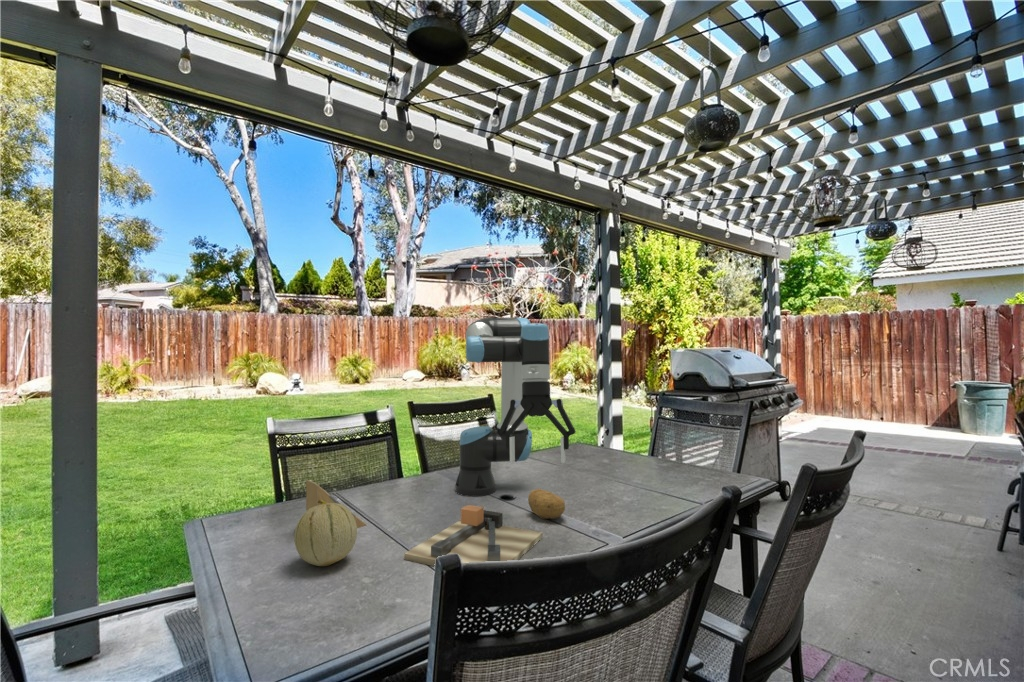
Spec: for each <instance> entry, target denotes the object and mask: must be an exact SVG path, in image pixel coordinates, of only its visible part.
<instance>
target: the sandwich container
mask: <svg viewBox="0 0 1024 682" xmlns="http://www.w3.org/2000/svg"><path fill="white" fill-rule="evenodd" d="M305 488H306V491H305V493H306V496H305V497H306V499H305V500H306V501H305V503H306V506H305V507H306V508H305V510H306V511H307V510H309V509H310V508H312V507H314V506H317V505H320V504H321V503H318V501H319V500H323V501H325V502H326V503H338V504H341V505H343V504H342V503H341V502H339V501H338V500H337V499H336V498H334V497H333V496H332V495H331V494H329V493H328V492H327V490H325V489H324V488H323V487H321V486H320V485H319V484H317V483H316V482H314V481H311V480H310V479H306V487H305ZM306 511H305V512H306ZM352 514H353V516H354V518H355V520H356V524H357V529H358V528H361V527H362V528H363V527H365V526H367V523H366V522H364V521H363V520H362V519H361V518H359V517H358V516H357V515H356V514H355V513H353V512H352Z"/></svg>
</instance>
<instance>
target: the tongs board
mask: <svg viewBox="0 0 1024 682" xmlns="http://www.w3.org/2000/svg"><path fill="white" fill-rule="evenodd" d="M485 517H492V521H495V545H500V561H507V560H518V561H519V560H520V559H521V558H522V557H523V556H524V555H525V554H524V553H525V552H527V551H528V550H529V549H530V548H531V547H532V546H533V545H534V544H535V543H536V542H538V541H539V540H540V539H541V538H542V537H543V535H544V534H543V532H542V531H535V530H530V529H525V528H518V527H513V526H509V525H508V526H507V525H504V524H503V517H504V513H503V512H498V511H492V510H491V511H490V510H485V509H484V522H482V523H481V524H479V525H478V526H473V525H467V524H461V519H460V520H459V521H456V522H455V523H453V524H452V525H450V526H447V527H446V528H445V529H443V530H441V531H440V532H438V533H436V534H435V535H433V536H431V537H429V538H427V539H426V540H424V541H423V542H421V543H420V544H418V545H416V546H414V547H413V548H411V549H409V550H408V551H406V552H404V556H403V557H404V559H403V560H404V561H406V560H407V561H409V562H414V563H419V564H421V565H422V564H423V565H428V566H432V567H435V566H434V564H435V559H436V558H437V557H438V556H442V555H447V554H452V553H457V554H459V555H460V557H461V559H462V562H463V563H469V562H485V561H488V545H489V530H486V529H485ZM542 539H543V538H542ZM542 539H541V540H542ZM541 540H540V541H541ZM540 541H539V542H540ZM539 542H538V543H539ZM536 544H537V543H536ZM536 544H535V545H536ZM535 545H534V546H535ZM534 546H533V547H534ZM533 547H532V548H533ZM532 548H531V549H532ZM531 549H530V550H531ZM530 550H529V551H530ZM529 551H528V552H529ZM528 552H527V553H528ZM523 554H524V555H523ZM522 555H523V556H522ZM521 556H522V557H521ZM520 557H521V558H520Z"/></svg>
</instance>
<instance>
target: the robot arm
mask: <svg viewBox="0 0 1024 682" xmlns="http://www.w3.org/2000/svg"><path fill="white" fill-rule="evenodd" d="M465 340H466V341H465V359H466V361H467V362H468V363H476V364H479V363H501V381H500V383H501V384H500V385H501V389H500V390H501V397H500V399H501V400H500V401H501V403H500V404H501V405H500V421H499V423H497V425H496V430H492V428H491V426H489V425H483V426H482V425H481V426H475V427H469V428H466V429H464V430H462V431H461V432H460V435H459V473H458V474H457V478H456V481H455V484H454V485H455V486H454V492H455V491H456V492H457V493H456V492H455V493H456V494H458V493H459V494H458V495H460V494H462V495H461V496H465V495H468V496H467V497H479V496H480V497H481V495H483V496H488V495H491V494H494V493H495V492H496V491H497V487H496V485H497V484H496V480H495V478H494V475H493V471H492V463H501V462H502V463H503V462H504V463H505V462H508V463H514V462H515V463H517V462H523V461H527V460H528V459H529V457H530V455H531V451H532V445H533V440H532V439H533V433H532V430H531V429H528V427H529V426H528V424H527V423H526V422H525V419H526V418H527V417H528V416H529V417H536V416H537V417H543V416H545V417H547V418H548V420H549V421H550V422H551V424H553V425H554V426H555V428H556V429H557V431H559V432H560V434H561V435H562V436H561V437H560V463H561V464H565V462H566V450H569V448H570V436H572V435H575V434H576V429H575V427H574V425H573V423H572V421H571V419H570V418H569V415H568V413H567V412H566V410H565V407H564V404H563V403H564V401H563V399H561V398H557V399H552V398H551V382H550V381H549V380H551V374H550V373H551V368H550V333H549V326H548V325H547V324H545V323H537V322H536V323H535V322H534V323H533V322H532V323H531V321H530V320H529V319H528V318H526V317H525V318H524V317H519V316H518V317H492V316H491V317H484V318H480V319H477V320H474V321H473V322H471V324H469V325H468V326H467V328H466V330H465ZM552 405H553V406H554V407H555V408H557V410H558V412H559V414H560V416H561V418H562V420H563V422H564V423H565V426H566V427H567V429H566V428H565V427H564V426H563V424H562V423H561V422H560V421H559V420H558V418H556V417H555V415H554V413H552V412H551V410H550V408H551V407H552ZM495 490H496V491H495ZM494 491H495V492H494ZM493 492H494V493H493ZM487 494H488V495H487Z"/></svg>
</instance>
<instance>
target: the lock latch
mask: <svg viewBox="0 0 1024 682" xmlns="http://www.w3.org/2000/svg"><path fill="white" fill-rule="evenodd" d="M484 510H485V509H484V507H483V506H477V505H472V504H467V505H465V506H464V507H462V508H461V509H460V520H461V524H467V525H473V526H478V525H479V524H481V523H482V522H484Z"/></svg>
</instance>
